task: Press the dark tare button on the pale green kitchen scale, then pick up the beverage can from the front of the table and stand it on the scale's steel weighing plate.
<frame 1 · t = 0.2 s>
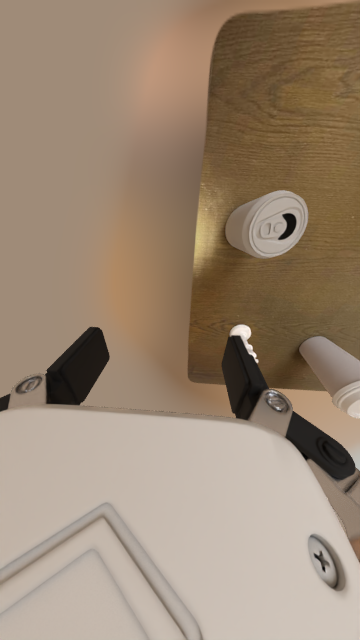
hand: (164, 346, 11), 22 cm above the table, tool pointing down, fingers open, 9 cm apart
coffee cup: (312, 345, 38), on the table
beverage can: (242, 227, 26), on the table
chess piece: (239, 332, 37), on the table
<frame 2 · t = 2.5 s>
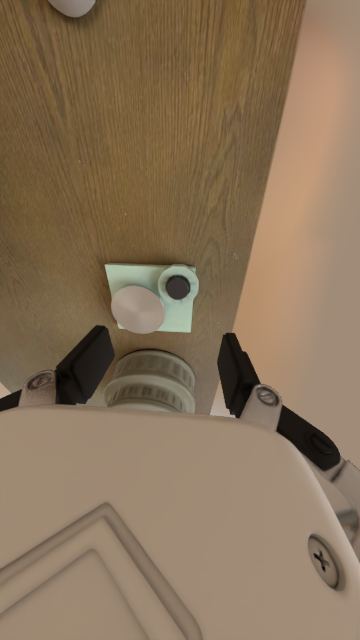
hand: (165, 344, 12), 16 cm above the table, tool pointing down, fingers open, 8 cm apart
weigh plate: (138, 311, 25), resting on scale
tare button: (177, 288, 22), point 3 cm above the table, slide at 0.1 cm
scale: (153, 299, 27), on the table
dome: (155, 377, 39), on the table
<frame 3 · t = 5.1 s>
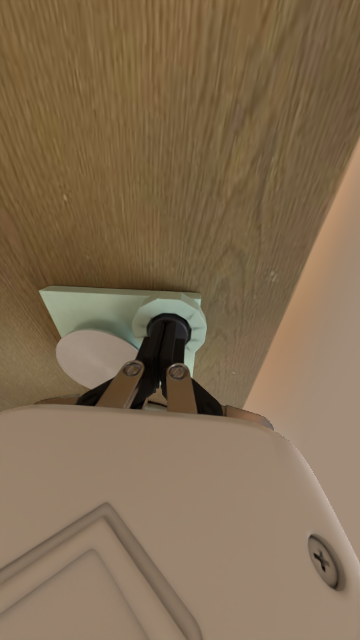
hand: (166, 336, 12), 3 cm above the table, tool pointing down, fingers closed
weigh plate: (104, 365, 15), resting on scale
tare button: (169, 329, 13), point 3 cm above the table, slide at -0.7 cm, touching gripper
scale: (132, 339, 17), on the table
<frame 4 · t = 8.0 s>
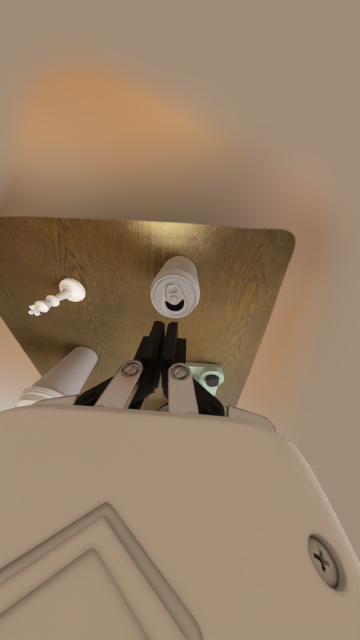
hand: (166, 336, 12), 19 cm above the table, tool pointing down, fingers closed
tare button: (212, 380, 39), point 3 cm above the table, slide at 0.1 cm
coffee cup: (86, 354, 42), on the table
beverage can: (179, 273, 29), on the table
scale: (193, 377, 44), on the table
chess piece: (74, 289, 32), on the table
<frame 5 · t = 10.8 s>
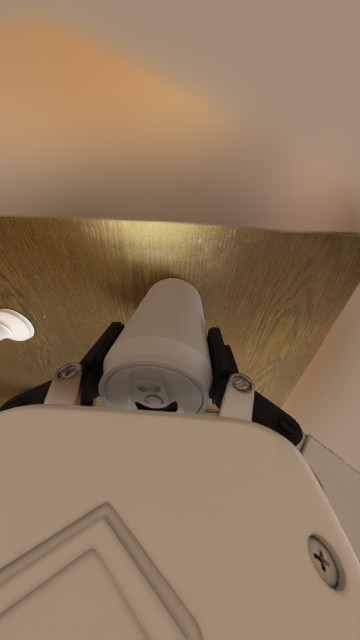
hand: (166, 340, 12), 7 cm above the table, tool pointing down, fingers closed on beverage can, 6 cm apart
beverage can: (174, 302, 18), on the table, touching gripper
chess piece: (16, 323, 21), on the table
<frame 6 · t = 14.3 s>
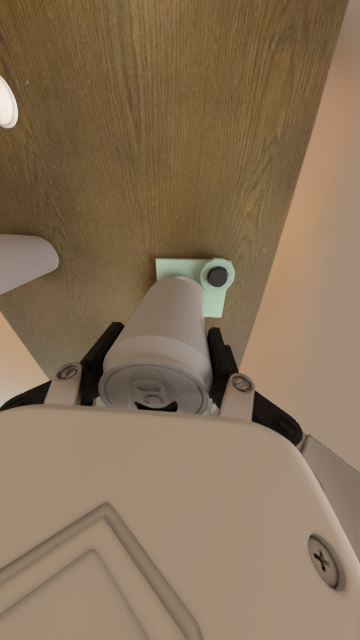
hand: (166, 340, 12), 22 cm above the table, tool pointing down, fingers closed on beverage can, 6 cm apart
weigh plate: (181, 298, 30), resting on scale
tare button: (217, 277, 27), point 3 cm above the table, slide at 0.1 cm
coffee cup: (42, 254, 30), on the table
beverage can: (174, 301, 18), point 14 cm above the table, touching gripper
scale: (191, 288, 32), on the table
when the fingers open (10 cm above the table, at t = 17.7 s): beverage can stays where it is, resting on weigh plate.
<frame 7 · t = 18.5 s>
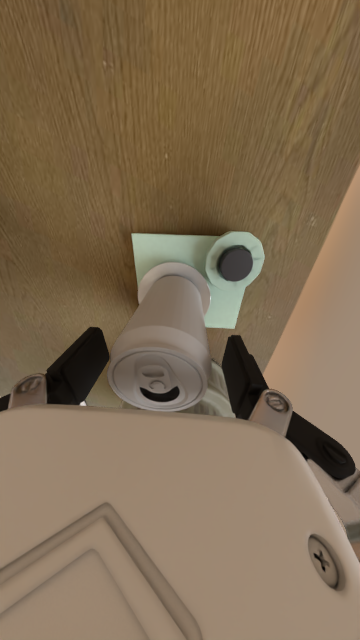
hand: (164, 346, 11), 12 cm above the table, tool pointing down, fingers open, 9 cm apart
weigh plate: (174, 299, 19), resting on scale
tare button: (235, 264, 16), point 3 cm above the table, slide at 0.1 cm
beverage can: (174, 299, 19), point 3 cm above the table, touching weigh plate
scale: (190, 284, 21), on the table
dome: (179, 383, 33), on the table
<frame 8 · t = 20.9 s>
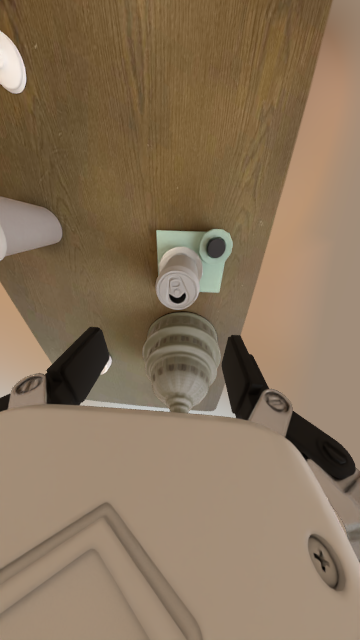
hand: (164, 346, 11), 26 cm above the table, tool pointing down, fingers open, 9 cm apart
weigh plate: (180, 270, 31), resting on scale
tare button: (216, 248, 28), point 3 cm above the table, slide at 0.1 cm
coffee cup: (46, 226, 31), on the table
beverage can: (181, 270, 31), point 3 cm above the table, touching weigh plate
scale: (190, 263, 33), on the table
coaster: (97, 356, 50), on the table
dome: (182, 340, 45), on the table
chess piece: (8, 65, 21), on the table
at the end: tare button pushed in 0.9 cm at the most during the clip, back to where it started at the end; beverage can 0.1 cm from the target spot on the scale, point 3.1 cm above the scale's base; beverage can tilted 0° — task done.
